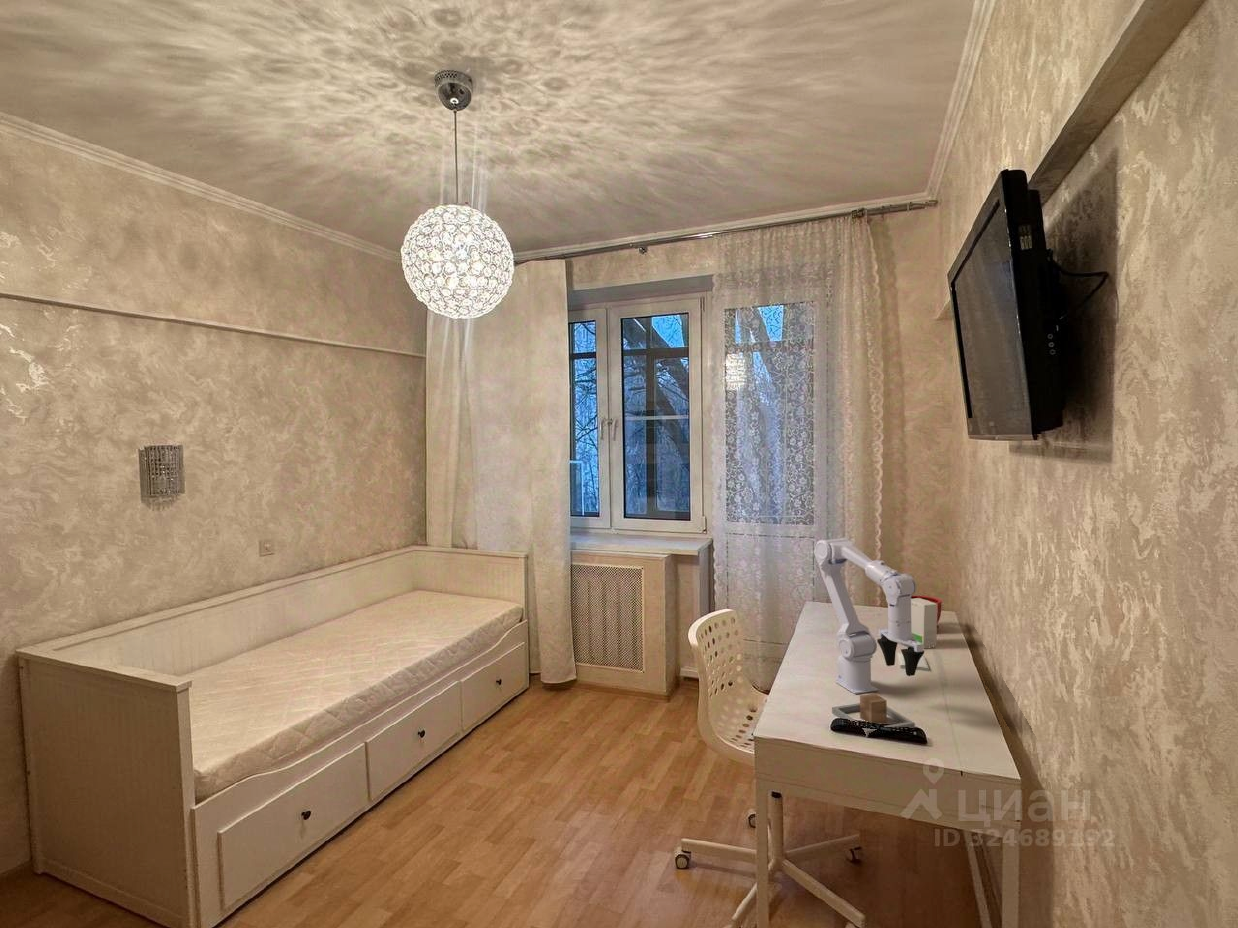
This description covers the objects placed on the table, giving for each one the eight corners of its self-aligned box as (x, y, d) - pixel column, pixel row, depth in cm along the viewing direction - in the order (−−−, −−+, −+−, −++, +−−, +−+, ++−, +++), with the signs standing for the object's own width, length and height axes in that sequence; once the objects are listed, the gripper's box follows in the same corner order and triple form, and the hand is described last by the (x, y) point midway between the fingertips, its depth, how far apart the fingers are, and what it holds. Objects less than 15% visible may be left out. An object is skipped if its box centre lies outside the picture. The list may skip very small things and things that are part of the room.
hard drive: (928, 667, 187) (924, 654, 199) (900, 664, 190) (897, 651, 202) (928, 673, 187) (924, 659, 199) (900, 669, 190) (897, 656, 202)
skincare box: (904, 642, 215) (904, 599, 214) (918, 639, 217) (918, 597, 216) (924, 649, 207) (923, 604, 206) (938, 647, 209) (938, 602, 209)
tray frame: (832, 712, 160) (832, 707, 160) (876, 705, 163) (876, 700, 163) (866, 737, 146) (866, 731, 146) (914, 728, 150) (914, 722, 150)
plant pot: (945, 636, 220) (944, 603, 220) (905, 633, 224) (905, 601, 224) (937, 625, 233) (937, 595, 233) (900, 623, 237) (900, 593, 237)
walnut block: (860, 718, 157) (859, 695, 156) (875, 715, 158) (874, 693, 158) (871, 725, 152) (871, 702, 152) (886, 723, 153) (886, 700, 153)
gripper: (932, 625, 155) (933, 677, 155) (893, 611, 169) (893, 659, 169) (909, 628, 153) (910, 681, 154) (871, 614, 167) (872, 662, 168)
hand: (900, 670), depth 161 cm, fingers open, 7 cm apart
